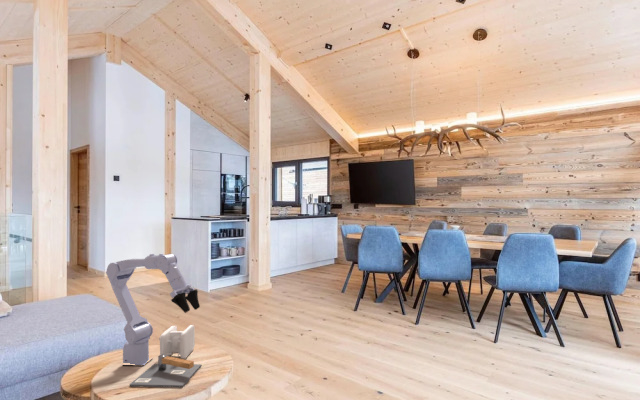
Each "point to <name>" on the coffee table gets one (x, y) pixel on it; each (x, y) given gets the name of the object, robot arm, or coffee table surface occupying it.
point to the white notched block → (177, 341)
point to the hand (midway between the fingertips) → (192, 309)
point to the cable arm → (173, 362)
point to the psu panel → (165, 376)
